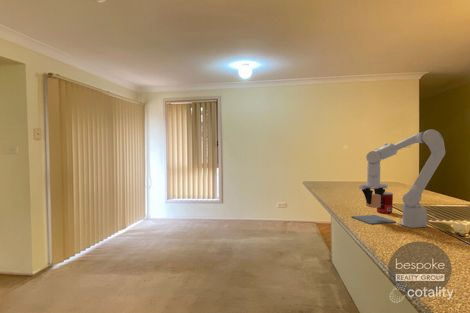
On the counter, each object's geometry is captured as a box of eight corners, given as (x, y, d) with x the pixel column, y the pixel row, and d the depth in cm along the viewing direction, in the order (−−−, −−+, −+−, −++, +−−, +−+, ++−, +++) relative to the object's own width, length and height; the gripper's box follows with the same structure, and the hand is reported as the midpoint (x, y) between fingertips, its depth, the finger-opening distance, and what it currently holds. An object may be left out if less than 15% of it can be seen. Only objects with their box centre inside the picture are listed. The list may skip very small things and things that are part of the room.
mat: (375, 215, 154) (375, 214, 154) (395, 222, 141) (395, 221, 141) (351, 217, 151) (351, 216, 151) (370, 224, 137) (370, 223, 137)
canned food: (393, 211, 164) (393, 192, 164) (391, 214, 158) (392, 194, 157) (377, 210, 168) (378, 190, 168) (375, 212, 162) (376, 192, 161)
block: (374, 205, 148) (374, 193, 148) (380, 207, 144) (380, 195, 144) (366, 206, 147) (366, 193, 147) (372, 207, 143) (372, 195, 143)
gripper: (380, 174, 151) (379, 201, 151) (355, 175, 147) (355, 202, 148) (390, 176, 144) (390, 204, 145) (365, 176, 140) (364, 205, 141)
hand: (373, 203), depth 146 cm, fingers closed on block, 4 cm apart
